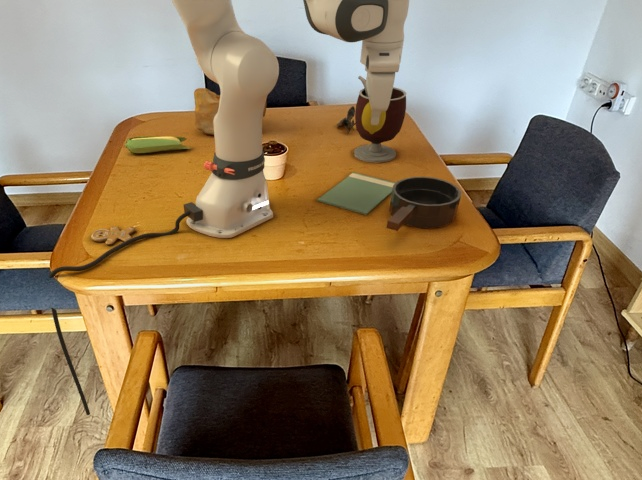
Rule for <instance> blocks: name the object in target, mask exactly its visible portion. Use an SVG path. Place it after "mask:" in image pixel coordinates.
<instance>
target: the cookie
mask: <svg viewBox="0 0 642 480" xmlns="http://www.w3.org/2000/svg"><path fill="white" fill-rule="evenodd" d="M135 232H136V228H135V227H132V226H130V227H127V228H124V229H122V230H121V229H120V228H119V227H118V226H115V225H114V226H111V227H110V229H106V228H100V229H97V230H94V232H92V233H91V240H92V241H93V242H96V243H102V242H105V244H106V245H107V246H112V245H113V244H115V243H116V242H117V241H118V240H121V241H122V242H125V241H127V240H129V239H131V238H133V236H131V235H132V234H134V233H135Z"/></svg>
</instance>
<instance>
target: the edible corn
mask: <svg viewBox="0 0 642 480" xmlns="http://www.w3.org/2000/svg"><path fill="white" fill-rule="evenodd" d="M186 140H187V138H186V137H183V136H166V135H165V136H162V135H161V136H160V135H159V136H157V135H156V136H154V135H153V136H152V135H151V136H150V135H149V136H133V137H129V138H128V139H127V140H126V142H125V144H124V146H125V149H127V150H128V151H129V152H130V153H132V154H137V155H141V154H149V153H151V154H152V153H158V152H167V151H178V150H189V149H191V147H188V146H186V145H184V144H183V143H182V142H185V141H186Z"/></svg>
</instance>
